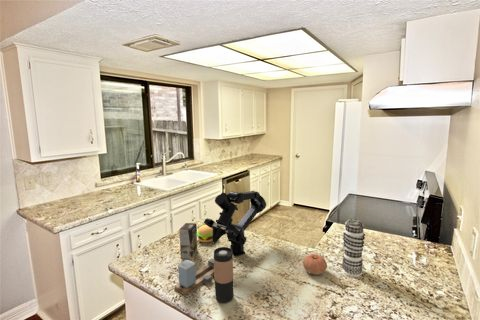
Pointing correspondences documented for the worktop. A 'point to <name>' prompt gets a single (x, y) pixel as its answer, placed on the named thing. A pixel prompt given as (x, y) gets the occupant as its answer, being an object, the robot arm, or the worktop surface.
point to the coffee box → (188, 240)
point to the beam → (204, 279)
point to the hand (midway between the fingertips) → (213, 242)
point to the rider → (186, 273)
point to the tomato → (315, 264)
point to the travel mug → (223, 274)
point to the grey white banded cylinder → (353, 247)
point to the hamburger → (205, 234)
